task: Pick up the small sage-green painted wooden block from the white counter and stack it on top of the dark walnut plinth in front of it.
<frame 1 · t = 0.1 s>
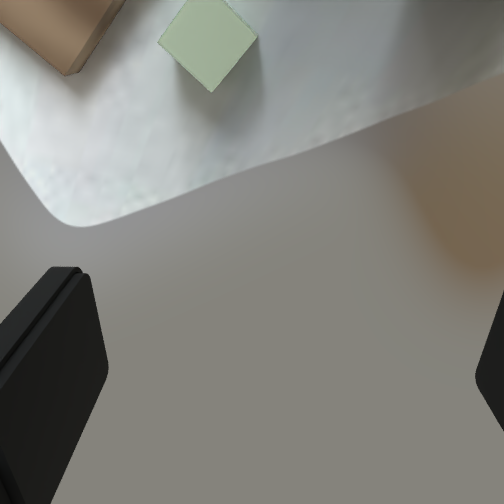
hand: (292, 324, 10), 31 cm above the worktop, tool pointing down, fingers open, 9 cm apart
sage block: (215, 37, 35), on the worktop
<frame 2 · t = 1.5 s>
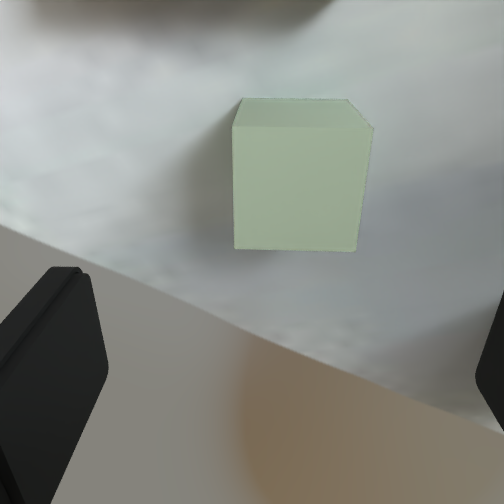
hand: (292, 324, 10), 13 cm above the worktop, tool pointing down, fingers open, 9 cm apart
sage block: (292, 150, 21), on the worktop
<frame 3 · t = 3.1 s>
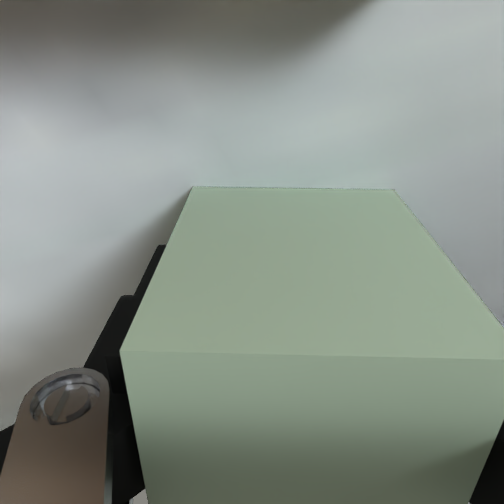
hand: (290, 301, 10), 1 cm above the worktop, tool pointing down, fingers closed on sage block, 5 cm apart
sage block: (288, 273, 12), on the worktop, touching gripper
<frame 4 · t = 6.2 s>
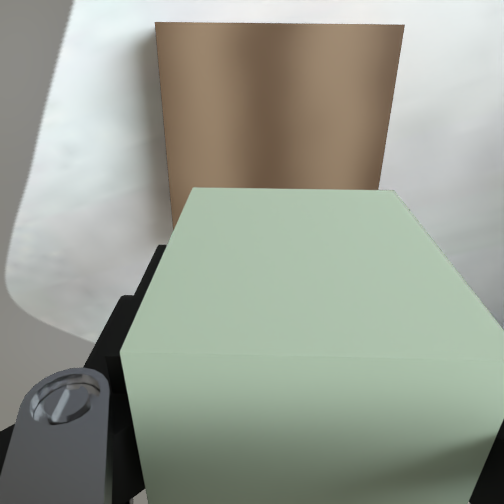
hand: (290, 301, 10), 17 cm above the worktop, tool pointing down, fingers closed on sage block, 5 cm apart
sage block: (288, 274, 12), point 16 cm above the worktop, touching gripper
walnut plinth: (273, 135, 26), on the worktop
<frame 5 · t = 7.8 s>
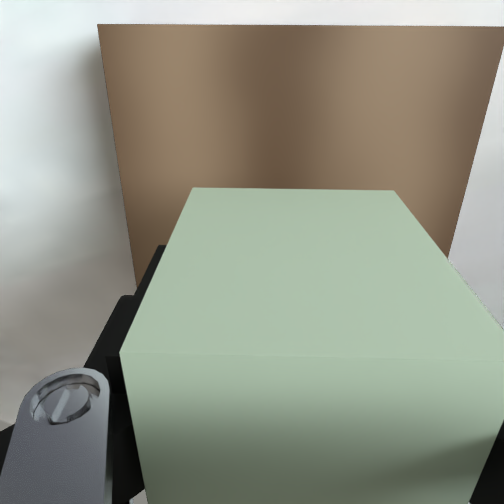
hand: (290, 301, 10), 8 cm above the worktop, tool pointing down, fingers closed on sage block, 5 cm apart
sage block: (288, 274, 12), point 7 cm above the worktop, touching gripper
walnut plinth: (286, 186, 18), on the worktop
when the fingers open (6 cm above the worktop, at t = 9.2 s): sage block drops 1 cm, resting on walnut plinth.
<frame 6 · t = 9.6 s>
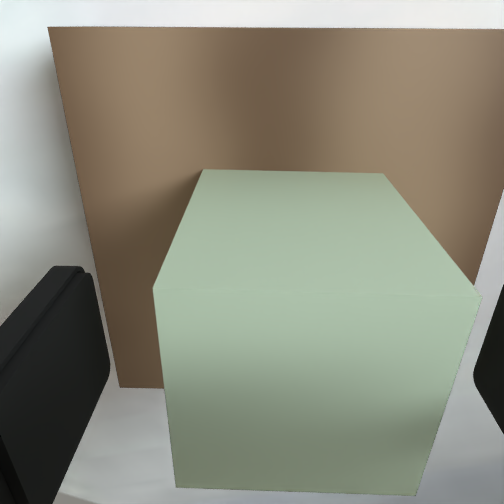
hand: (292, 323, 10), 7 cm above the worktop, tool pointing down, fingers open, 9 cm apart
sage block: (287, 250, 13), point 3 cm above the worktop, touching walnut plinth
walnut plinth: (282, 211, 15), on the worktop
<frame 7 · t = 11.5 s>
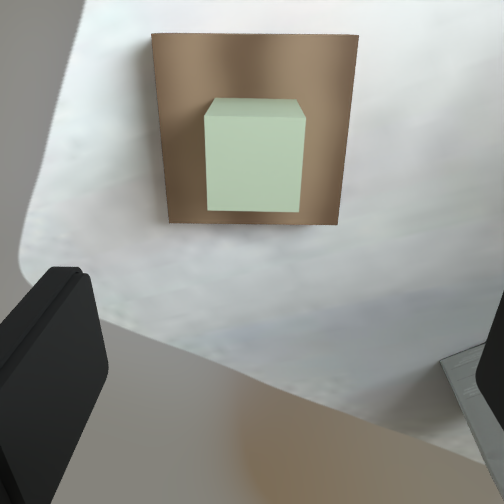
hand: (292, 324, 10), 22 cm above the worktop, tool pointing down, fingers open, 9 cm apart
sage block: (254, 139, 27), point 3 cm above the worktop, touching walnut plinth
skincare box: (478, 372, 41), on the worktop
walnut plinth: (254, 129, 30), on the worktop
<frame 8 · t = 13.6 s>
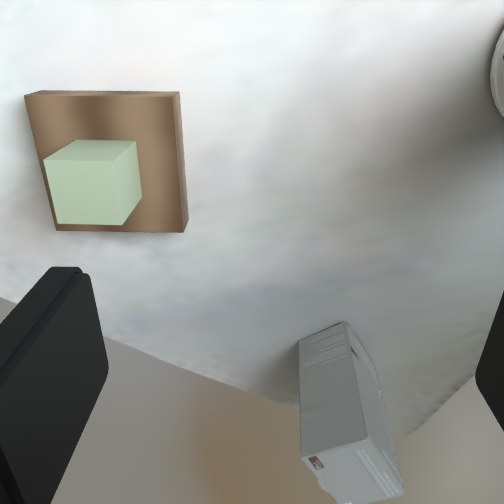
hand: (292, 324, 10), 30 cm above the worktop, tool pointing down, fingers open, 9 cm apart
sage block: (110, 169, 36), point 3 cm above the worktop, touching walnut plinth
skincare box: (332, 351, 50), on the worktop
walnut plinth: (120, 159, 39), on the worktop
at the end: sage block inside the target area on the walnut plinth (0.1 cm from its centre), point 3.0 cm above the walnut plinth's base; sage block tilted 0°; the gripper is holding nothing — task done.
